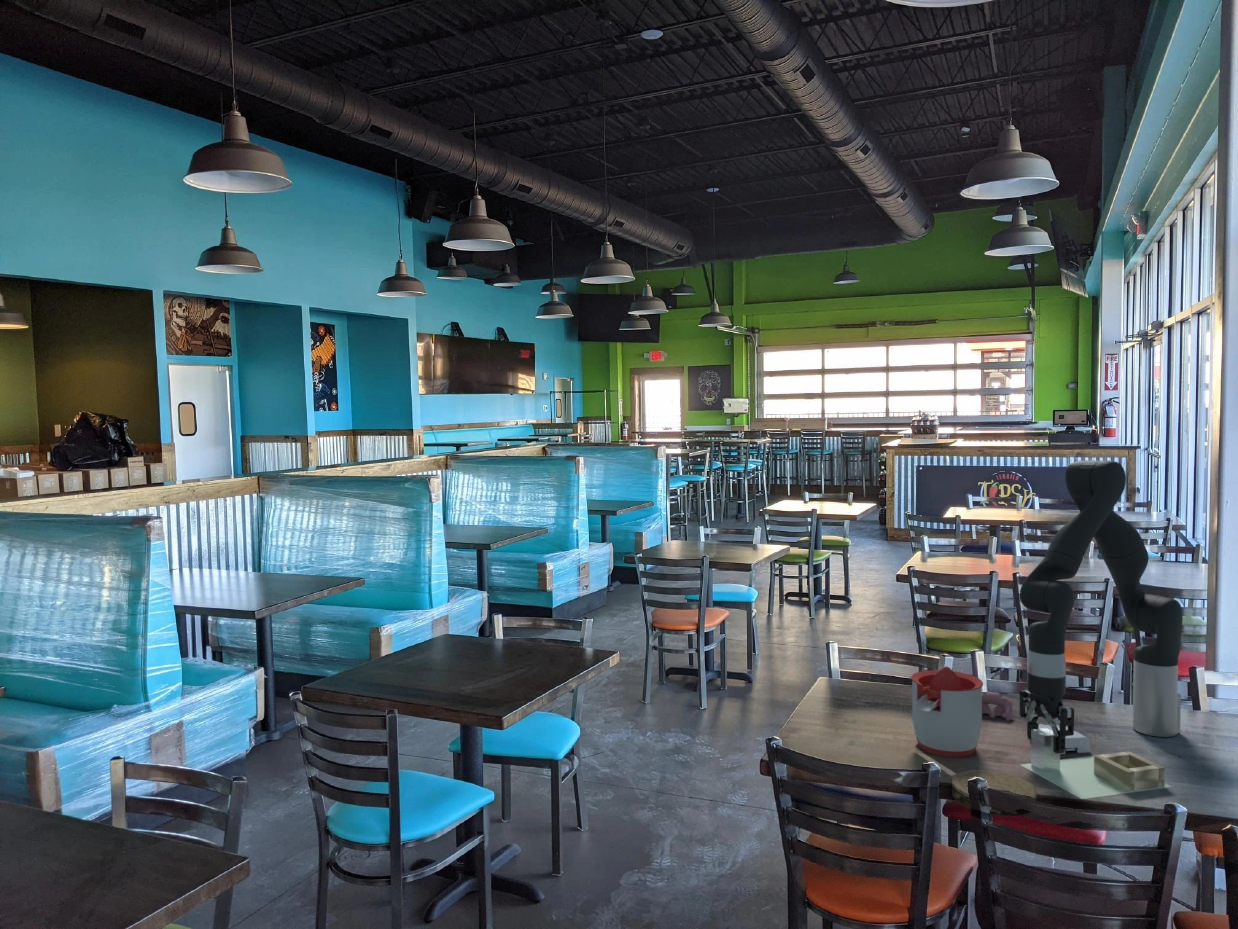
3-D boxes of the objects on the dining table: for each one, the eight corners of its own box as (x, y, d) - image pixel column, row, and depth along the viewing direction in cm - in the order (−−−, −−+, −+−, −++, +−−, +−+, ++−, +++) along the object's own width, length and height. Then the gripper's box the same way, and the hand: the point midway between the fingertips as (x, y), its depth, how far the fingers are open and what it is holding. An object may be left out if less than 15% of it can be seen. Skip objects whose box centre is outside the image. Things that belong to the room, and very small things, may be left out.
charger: (1049, 734, 211) (1090, 757, 196) (1014, 736, 210) (1052, 760, 195) (1049, 715, 211) (1090, 737, 196) (1014, 717, 210) (1052, 739, 195)
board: (1104, 758, 195) (1104, 754, 195) (1172, 791, 177) (1172, 786, 177) (1020, 769, 189) (1020, 764, 189) (1081, 804, 172) (1082, 799, 172)
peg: (1046, 763, 190) (1046, 727, 189) (1059, 770, 186) (1060, 734, 186) (1031, 765, 189) (1031, 729, 189) (1044, 772, 185) (1044, 736, 185)
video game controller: (1012, 724, 222) (1014, 696, 224) (1010, 721, 218) (1012, 693, 221) (971, 717, 227) (974, 691, 229) (969, 714, 224) (971, 687, 226)
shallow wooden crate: (1128, 769, 186) (1129, 751, 186) (1164, 786, 177) (1164, 767, 177) (1093, 774, 184) (1094, 755, 184) (1128, 791, 175) (1128, 772, 175)
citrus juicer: (892, 751, 201) (892, 666, 200) (935, 734, 211) (935, 653, 210) (954, 772, 188) (954, 682, 187) (996, 753, 199) (996, 667, 198)
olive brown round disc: (934, 792, 179) (934, 778, 179) (990, 778, 186) (990, 764, 186) (997, 824, 165) (997, 808, 165) (1055, 807, 171) (1055, 792, 171)
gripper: (1086, 679, 180) (1085, 756, 181) (1037, 661, 194) (1037, 733, 195) (1055, 682, 179) (1054, 760, 179) (1008, 663, 192) (1008, 736, 193)
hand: (1045, 746), depth 187 cm, fingers open, 7 cm apart
